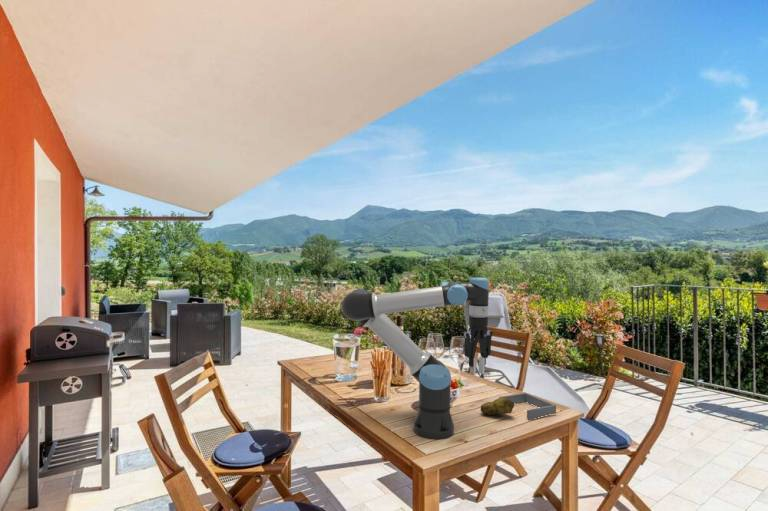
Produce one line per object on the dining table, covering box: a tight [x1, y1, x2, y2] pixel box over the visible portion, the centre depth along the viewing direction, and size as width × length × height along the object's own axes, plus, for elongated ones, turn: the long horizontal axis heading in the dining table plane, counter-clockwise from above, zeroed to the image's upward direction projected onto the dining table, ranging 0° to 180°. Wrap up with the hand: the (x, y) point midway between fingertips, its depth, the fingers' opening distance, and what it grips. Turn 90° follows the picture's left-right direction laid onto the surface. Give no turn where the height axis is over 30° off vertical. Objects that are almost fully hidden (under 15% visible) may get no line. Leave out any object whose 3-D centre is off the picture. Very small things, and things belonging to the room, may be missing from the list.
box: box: [498, 392, 557, 421], centre depth 184 cm, size 15×18×4 cm
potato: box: [480, 397, 515, 416], centre depth 177 cm, size 8×13×8 cm, turn 54°
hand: (477, 373), depth 172 cm, fingers open, 4 cm apart
